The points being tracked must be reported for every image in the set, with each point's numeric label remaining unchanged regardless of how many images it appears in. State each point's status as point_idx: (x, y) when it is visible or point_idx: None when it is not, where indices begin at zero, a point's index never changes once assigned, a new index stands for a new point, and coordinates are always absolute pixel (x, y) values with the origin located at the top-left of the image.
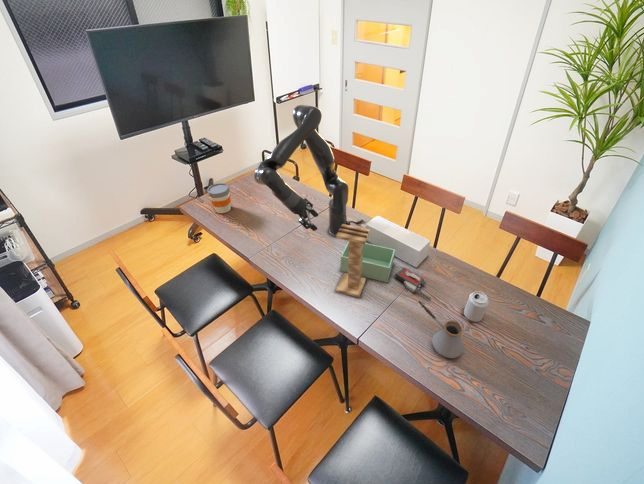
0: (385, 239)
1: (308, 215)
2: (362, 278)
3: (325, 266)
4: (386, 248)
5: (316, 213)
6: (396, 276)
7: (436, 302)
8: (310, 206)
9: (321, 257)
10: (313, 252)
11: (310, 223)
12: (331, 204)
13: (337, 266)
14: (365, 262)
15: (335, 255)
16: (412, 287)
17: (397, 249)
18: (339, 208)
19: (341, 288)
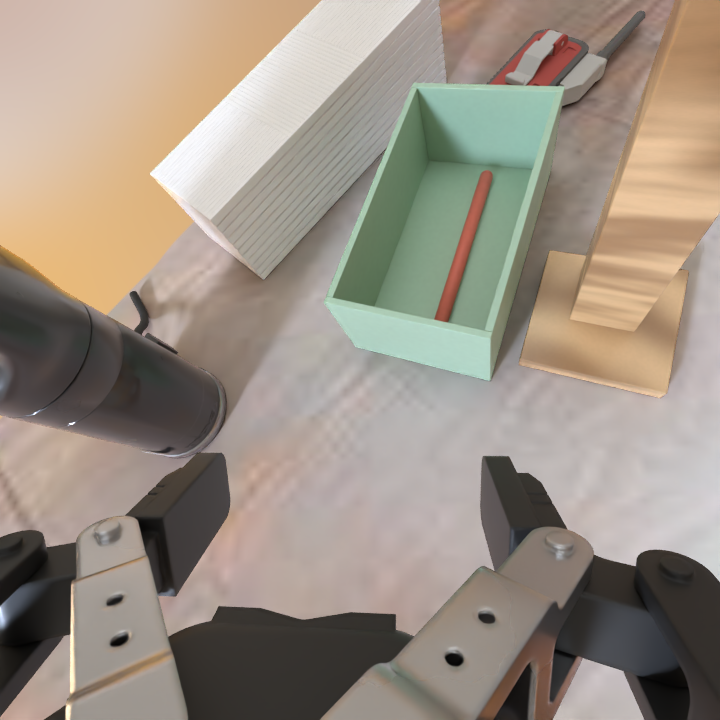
0: (317, 147)
1: (467, 662)
2: (554, 265)
3: (458, 469)
4: (405, 117)
5: (201, 473)
6: None
7: (640, 9)
8: (40, 591)
9: (383, 496)
10: (339, 549)
11: (582, 578)
12: (14, 375)
13: (455, 400)
14: (532, 198)
15: (368, 415)
16: (594, 65)
17: (372, 114)
18: (71, 323)
19: (654, 364)
